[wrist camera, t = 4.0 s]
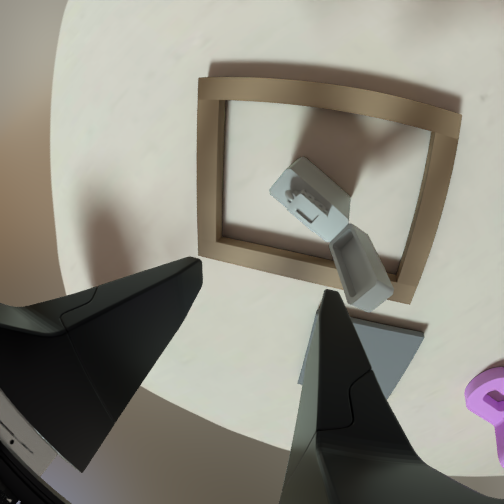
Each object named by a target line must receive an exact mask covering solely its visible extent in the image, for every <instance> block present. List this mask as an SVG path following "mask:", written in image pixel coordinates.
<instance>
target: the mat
mask: <svg viewBox="0 0 504 504" xmlns="http://www.w3.org/2000/svg"><path fill="white" fill-rule="evenodd" d="M318 313H319V310H317V312H316V316H315V320H314V324H313V328H312V332H311V336H310V340H309V343H308V347H307V351H306V355H305V358H304V362H303V366H302V369H301V373H300V376H299V380H298V383H297V384H301V385H303V379H304V372H305V366H306V360H307V356H308V352H309V348H310V345H311V341H312V337H313V333H314V329H315V325H316V321H317V317H318ZM350 318H351V320H352V322H353V325H354V327H355V329H356V331H357V334H358V336H359V338H360V340H361V343H362V345H363V347H364V350H365V352H366V354H367V357H368V359H369V361H370V364H371V366H372V370H373V371H374V373H375V376H376V378H377V380H378V383H379V385H380V387H381V389H382V392H383V394H384V396H385V398H386V400H387V399H388V397H389V396H390V394H391V393H392V391H393V390H394V388H395V387H396V385H397V384H398V382H399V380H400V379H401V377H402V376H403V374H404V372H405V371H406V369H407V367H408V366H409V364H410V362H411V360H412V359H413V357H414V355H415V353H416V352H417V350H418V348H419V346H420V344H421V343H422V341H423V339H424V333H423V332H418V331H413V330H408V329H403V328H398V327H394V326H389V325H384V324H379V323H375V322H370V321H365V320H361V319H356V318H352V317H350Z"/></svg>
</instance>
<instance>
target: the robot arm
mask: <svg viewBox="0 0 504 504" xmlns="http://www.w3.org/2000/svg"><path fill="white" fill-rule="evenodd" d="M202 283H203V273H202V261H201V260H200V259H198V258H194V257H186V258H183V259H180V260H177V261H173V262H170V263H167V264H164V265H161V266H158V267H155V268H152V269H148V270H145V271H142V272H139V273H136V274H133V275H130V276H127V277H124V278H121V279H118V280H115V281H112V282H109V283H105V284H102V285H99V286H98V287H93V288H90V289H87V290H84V291H81V292H78V293H74V294H71V295H67V296H64V297H60V298H56V299H53V300H49V301H45V302H41V303H37V304H33V305H30V306H25V307H13V306H8V305H5V304H2V303H0V504H16V503H17V502H18V501H21V502H20V504H71V503H70V502H69V501H68V500H66V499H65V498H64V497H63V496H61V495H60V494H59V493H58V492H57V491H55V490H54V489H53V488H52V487H51V486H49V485H48V484H47V483H46V482H45V481H44V480H43V479H42V478H41V477H40V476H41V475H42V474H43V472H44V471H45V470H46V469H47V467H48V466H49V465H50V463H51V462H52V461H53V460H54V459H55V457H56V456H57V455H59V456H60V457H61V458H63V459H64V460H65V461H67V462H68V463H69V464H70V465H71V466H73V467H74V468H75V469H77V470H78V471H79V472H81V473H82V472H83V471H84V470H85V469H86V467H87V466H88V464H89V463H90V461H91V459H92V458H93V456H94V455H95V453H96V452H97V450H98V449H99V447H100V446H101V444H102V443H103V441H104V439H105V438H106V436H107V435H108V433H109V432H110V430H111V429H112V427H113V426H114V424H115V422H116V421H117V419H118V418H119V416H120V415H121V413H122V412H123V410H124V409H125V407H126V406H127V404H128V403H129V401H130V400H131V398H132V397H133V395H134V394H135V392H136V391H137V389H138V388H139V386H140V385H141V383H142V382H143V381H144V379H145V378H146V376H147V375H148V373H149V372H150V370H151V369H152V367H153V366H154V364H155V363H156V361H157V360H158V358H159V357H160V355H161V354H162V352H163V351H164V349H165V348H166V347H167V345H168V344H169V342H170V341H171V339H172V338H173V336H174V335H175V333H176V332H177V330H178V329H179V327H180V326H181V324H182V323H183V321H184V319H185V317H186V316H187V314H188V312H189V310H190V308H191V306H192V304H193V302H194V300H195V298H196V297H197V295H198V293H199V291H200V289H201V287H202ZM279 504H504V499H497V498H492V497H488V496H486V495H483V494H480V493H479V492H477V491H475V490H473V489H471V488H469V487H467V486H465V485H463V484H461V483H459V482H457V481H455V480H454V479H452V478H450V477H448V476H446V475H444V474H443V473H441V472H439V471H437V470H436V469H434V468H432V467H430V466H429V465H427V464H426V463H425V462H424V461H422V459H421V458H420V457H419V456H418V455H417V454H416V452H415V451H414V449H413V447H412V446H411V444H410V442H409V440H408V438H407V437H406V435H405V433H404V431H403V429H402V427H401V426H400V424H399V422H398V420H397V418H396V416H395V415H394V413H393V411H392V409H391V407H390V405H389V403H388V402H387V400H386V398H385V396H384V394H383V392H382V389H381V387H380V385H379V383H378V380H377V378H376V376H375V373H374V371H373V370H372V366H371V364H370V361H369V359H368V357H367V354H366V352H365V350H364V347H363V345H362V343H361V340H360V338H359V336H358V334H357V331H356V329H355V327H354V325H353V322H352V320H351V318H350V316H349V313H348V311H347V309H346V307H345V305H344V303H343V300H342V298H341V296H340V294H339V292H337V291H333V290H329V289H326V290H325V291H324V294H323V298H322V302H321V306H320V309H319V313H318V317H317V321H316V325H315V329H314V333H313V337H312V341H311V345H310V348H309V352H308V356H307V360H306V366H305V372H304V379H303V385H302V391H301V397H300V403H299V409H298V415H297V420H296V426H295V431H294V436H293V442H292V447H291V452H290V457H289V461H288V466H287V471H286V475H285V480H284V484H283V489H282V493H281V497H280V501H279Z"/></svg>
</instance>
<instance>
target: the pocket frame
mask: <svg viewBox="0 0 504 504" xmlns="http://www.w3.org/2000/svg"><path fill="white" fill-rule="evenodd" d="M225 100H240V101H258V102H271V103H283V104H293V105H302V106H310V107H317V108H324V109H331V110H338V111H344V112H350V113H355V114H361V115H366V116H371V117H376V118H380V119H385V120H389V121H394V122H398V123H402V124H406V125H410V126H414V127H418V128H422V129H425V130H429V131H432V132H431V138H430V144H429V150H428V155H427V161H426V166H425V171H424V176H423V180H422V185H421V189H420V194H419V198H418V202H417V206H416V210H415V214H414V218H413V221H412V225H411V229H410V232H409V236H408V239H407V243H406V246H405V249H404V252H403V256H402V259H401V262H400V265H399V268H398V271H397V274H396V275H394V274H390V273H387V275H388V277H389V279H390V281H391V284H392V286H393V288H394V292H393V295H392V296H390V297H389V298H388V299H387V300H391V301H396V302H400V303H405V304H410V303H411V301H412V298H413V296H414V293H415V291H416V288H417V286H418V283H419V281H420V278H421V275H422V273H423V270H424V267H425V264H426V261H427V259H428V256H429V253H430V250H431V247H432V244H433V241H434V238H435V234H436V231H437V228H438V225H439V221H440V218H441V214H442V211H443V207H444V203H445V199H446V195H447V191H448V187H449V183H450V179H451V174H452V170H453V165H454V160H455V155H456V150H457V144H458V139H459V132H460V126H461V119H462V115H461V114H458V113H455V112H452V111H449V110H446V109H442V108H439V107H436V106H432V105H429V104H425V103H422V102H418V101H414V100H410V99H406V98H402V97H398V96H394V95H389V94H385V93H380V92H375V91H370V90H365V89H359V88H353V87H347V86H341V85H334V84H327V83H319V82H310V81H300V80H289V79H275V78H253V77H202V78H199V79H198V108H197V228H198V256H202V257H206V258H210V259H214V260H218V261H223V262H227V263H231V264H235V265H239V266H243V267H247V268H252V269H256V270H260V271H264V272H268V273H273V274H277V275H281V276H285V277H290V278H294V279H298V280H302V281H307V282H311V283H315V284H320V285H324V286H329V287H333V288H337V289H342V290H343V286H342V283H341V280H340V277H339V274H338V271H337V268H336V265H335V263H334V261H332V260H328V259H323V258H319V257H314V256H310V255H305V254H300V253H296V252H291V251H287V250H282V249H278V248H273V247H268V246H264V245H259V244H255V243H250V242H245V241H241V240H236V239H231V238H227V237H222V190H223V153H224V124H225Z"/></svg>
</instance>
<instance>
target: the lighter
mask: <svg viewBox="0 0 504 504" xmlns="http://www.w3.org/2000/svg"><path fill="white" fill-rule="evenodd" d="M269 191H270V195H272V196H273V197H274V198H275V199H276V200H278V201H279V202H280V203H281V204H282V205H283V206H285V207H286V208H287V210H288V211H289V212H290V213H291V214H292V215H294V216H295V217H296V218H297V219H298V220H299V221H301V222H302V223H303V224H304V225H305V226H306V227H308V228H309V229H310V230H311V231H312V232H315V233H316V234H317V235H318V236H320V237H321V238H322V239H323V240H324V241H325V242H330V244H329V248H330V251H331V254H332V257H333V260H334V263H335V265H336V268H337V271H338V274H339V277H340V280H341V283H342V286H343V290H344V293H345V296H346V299H347V302H348V304H350V305H352V306H355V307H357V308H359V309H361V310H364V311H366V312H371V311H372V310H374V309H375V308H376V307H378V306H379V305H380V304H381V303H383V302H384V301H385V300H387V299H388V298H389V297H390V296H392V295H393V292H394V288H393V286H392V284H391V281H390V279H389V277H388V275H387V273H386V271H385V268H384V266H383V264H382V262H381V260H380V258H379V256H378V254H377V252H376V250H375V248H374V246H373V244H372V242H371V240H370V238H369V236H368V234H366V233H365V232H363V231H362V230H360V229H359V228H357V227H356V226H355V225H353V224H349V212H350V196H349V195H348V194H347V193H346V192H345V191H343V190H342V189H341V188H340V187H339V186H338V185H337V184H336V183H334V182H333V181H332V180H331V179H330V178H329V177H328V176H326V175H325V174H324V173H323V172H322V171H321V170H319V169H318V168H317V167H316V166H315V165H314V164H312V163H311V162H310V161H309V160H308V159H306V158H305V157H300V158H299V159H298V160H296V161H295V162H294V163H293V164H292V165H290V166H289V167H288V168H287V169H286V170H285V171H284V172H283V173H282V175H281V176H280V177H279V178H278V180H277V181H276V182H275V183H274V184H273V186H272V187H271V188H270V189H269Z"/></svg>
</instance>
